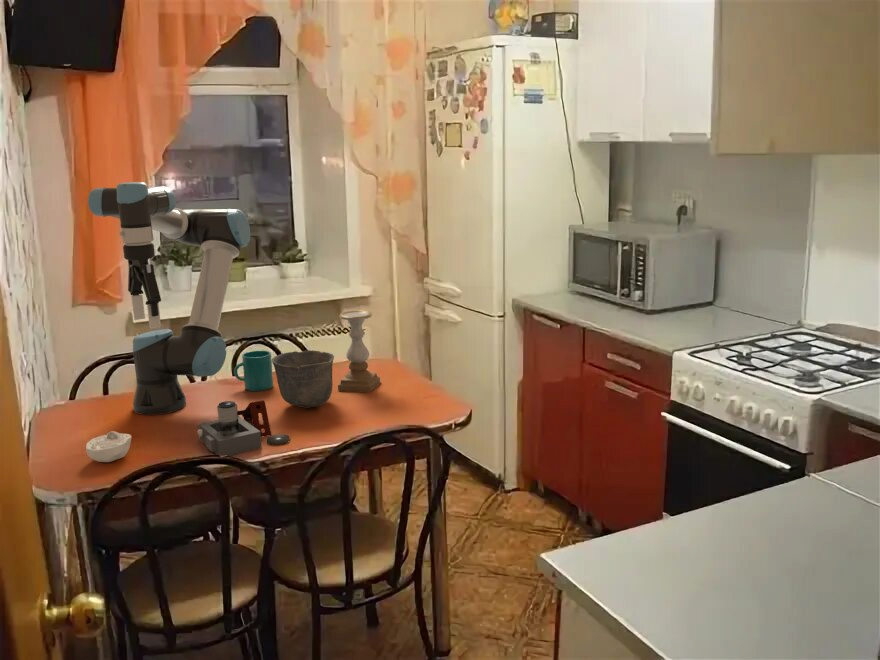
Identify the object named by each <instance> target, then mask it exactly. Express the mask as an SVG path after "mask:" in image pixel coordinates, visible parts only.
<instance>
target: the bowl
mask: <svg viewBox="0 0 880 660" xmlns="http://www.w3.org/2000/svg"><path fill="white" fill-rule="evenodd" d="M334 358H335V355H334V354H333V353H330V352H325V351H320V350H308V349H307V350H303V351H296V350H295V351H290V352H289V351H288V352H284V353H280V354H278V355H275V356H273V357H271V359H272V366H273V367H274V371H275V375H276V379H277V381H276V382H277V384H278V389H279V390H278V391H279V392H280V396H281V397H282V399H283V401H285V402H286V403H287V404H289V405H292V406H295V407H298V408H305V409H306V408H316V407H319V406H322V405H324V404H325V403H327V402H328V401H329V400H330V398H331V395H332V392H333V362H334Z"/></svg>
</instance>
